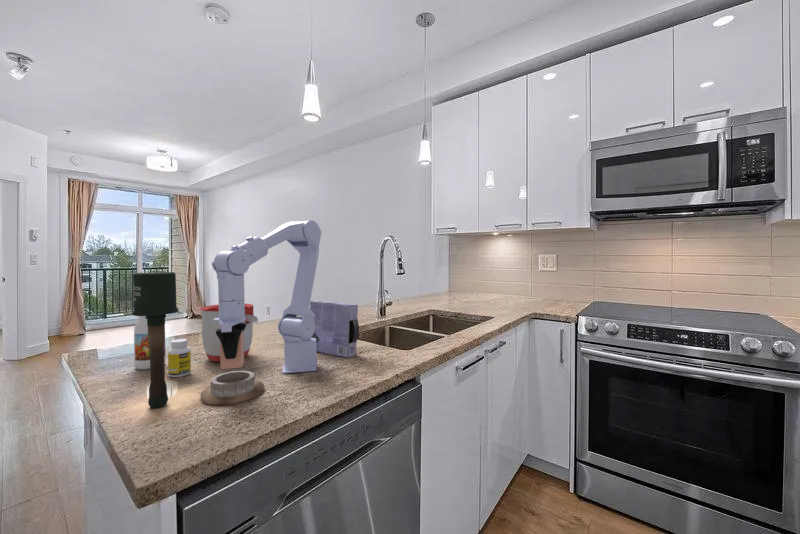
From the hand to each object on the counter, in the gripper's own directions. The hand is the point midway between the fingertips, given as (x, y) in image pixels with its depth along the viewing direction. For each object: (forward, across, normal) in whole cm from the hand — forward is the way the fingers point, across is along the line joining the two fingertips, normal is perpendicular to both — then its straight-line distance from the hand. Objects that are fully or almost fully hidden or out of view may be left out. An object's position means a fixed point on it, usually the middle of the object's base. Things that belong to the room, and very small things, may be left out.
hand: (232, 355), depth 86 cm
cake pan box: (+10, -29, +27) cm, 41 cm away
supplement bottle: (+10, -19, -17) cm, 27 cm away
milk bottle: (+10, -30, -28) cm, 42 cm away
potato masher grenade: (+10, +3, -15) cm, 18 cm away
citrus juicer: (+10, -33, -6) cm, 35 cm away
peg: (+2, 0, 0) cm, 2 cm away
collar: (+9, 0, 0) cm, 9 cm away
